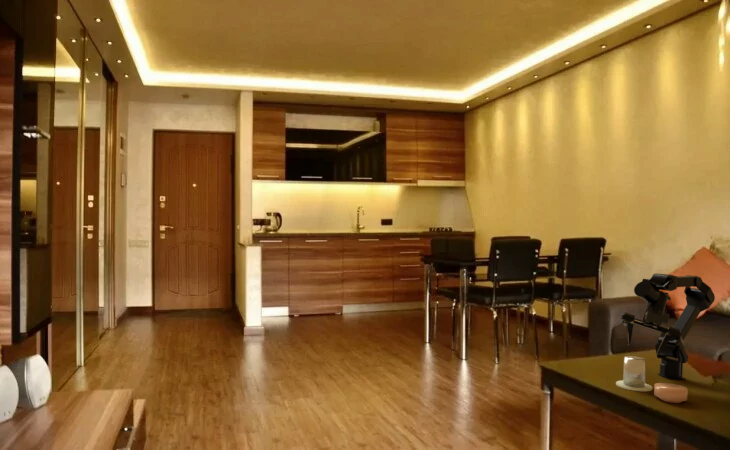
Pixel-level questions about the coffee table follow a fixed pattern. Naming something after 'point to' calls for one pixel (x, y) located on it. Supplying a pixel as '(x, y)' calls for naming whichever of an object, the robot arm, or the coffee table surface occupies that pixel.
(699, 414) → the coffee table surface
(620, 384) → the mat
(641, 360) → the frosted glass jar
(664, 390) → the bowl
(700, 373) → the coffee table surface
